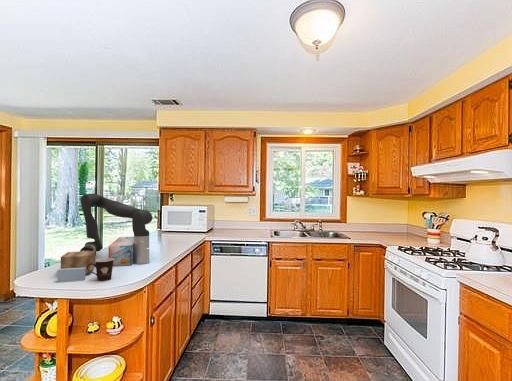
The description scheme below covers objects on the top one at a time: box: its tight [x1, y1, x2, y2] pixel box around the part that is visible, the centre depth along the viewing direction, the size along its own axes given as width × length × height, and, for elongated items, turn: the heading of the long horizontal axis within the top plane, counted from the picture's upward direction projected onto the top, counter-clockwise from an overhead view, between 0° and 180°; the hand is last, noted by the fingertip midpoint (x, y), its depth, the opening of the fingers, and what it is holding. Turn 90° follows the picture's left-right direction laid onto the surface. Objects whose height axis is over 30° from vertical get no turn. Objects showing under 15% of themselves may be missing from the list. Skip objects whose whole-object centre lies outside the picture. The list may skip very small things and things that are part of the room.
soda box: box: [108, 236, 134, 267], centre depth 210 cm, size 41×14×13 cm, turn 15°
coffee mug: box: [87, 257, 114, 282], centre depth 162 cm, size 12×9×10 cm
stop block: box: [56, 267, 86, 283], centre depth 160 cm, size 12×2×6 cm, turn 108°
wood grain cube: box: [60, 251, 96, 274], centre depth 174 cm, size 14×14×9 cm
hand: (81, 256), depth 181 cm, fingers closed
